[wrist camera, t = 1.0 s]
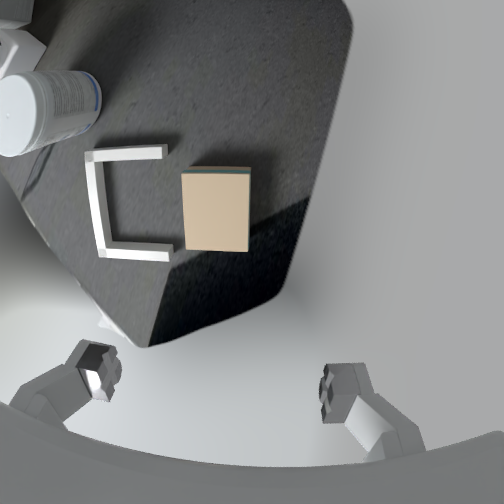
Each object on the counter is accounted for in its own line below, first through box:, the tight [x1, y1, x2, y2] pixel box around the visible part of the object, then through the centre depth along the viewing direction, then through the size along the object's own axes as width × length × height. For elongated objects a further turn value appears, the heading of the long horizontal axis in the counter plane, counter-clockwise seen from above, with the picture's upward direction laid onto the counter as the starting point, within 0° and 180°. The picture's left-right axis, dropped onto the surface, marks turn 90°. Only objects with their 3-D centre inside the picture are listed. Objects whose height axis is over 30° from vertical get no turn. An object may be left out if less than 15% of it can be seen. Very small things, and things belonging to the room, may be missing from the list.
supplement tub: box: [0, 71, 102, 157], centre depth 28 cm, size 10×10×15 cm
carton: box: [182, 166, 251, 252], centre depth 40 cm, size 10×8×4 cm
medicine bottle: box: [0, 28, 46, 80], centre depth 25 cm, size 7×7×12 cm
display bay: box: [84, 144, 174, 262], centre depth 40 cm, size 16×12×2 cm
